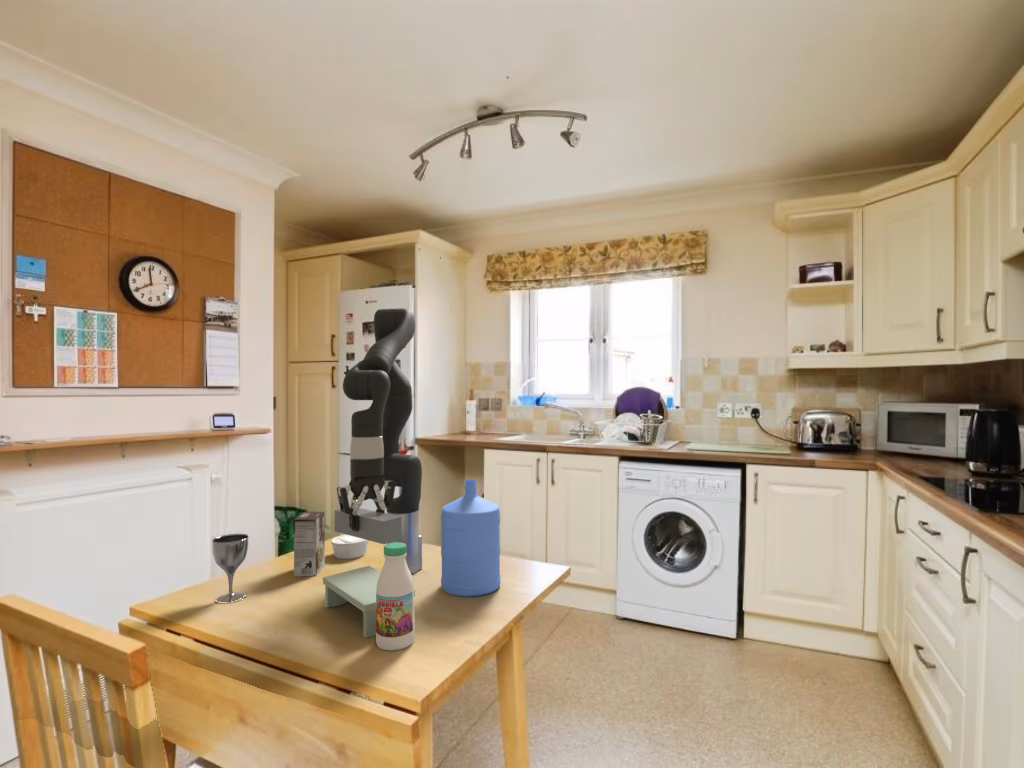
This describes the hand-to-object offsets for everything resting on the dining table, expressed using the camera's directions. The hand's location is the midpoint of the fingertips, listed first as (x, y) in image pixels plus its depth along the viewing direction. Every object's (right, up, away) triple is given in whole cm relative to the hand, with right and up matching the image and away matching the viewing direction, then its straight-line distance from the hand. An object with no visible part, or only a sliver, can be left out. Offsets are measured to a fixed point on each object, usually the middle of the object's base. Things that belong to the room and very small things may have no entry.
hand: (367, 527), depth 119 cm
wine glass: (-37, -20, +9) cm, 43 cm away
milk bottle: (+10, -20, -14) cm, 26 cm away
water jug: (+23, -20, +16) cm, 35 cm away
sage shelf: (0, -20, 0) cm, 20 cm away
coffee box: (-25, -21, +29) cm, 43 cm away
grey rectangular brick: (0, -2, 0) cm, 2 cm away
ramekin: (-18, -21, +43) cm, 51 cm away
